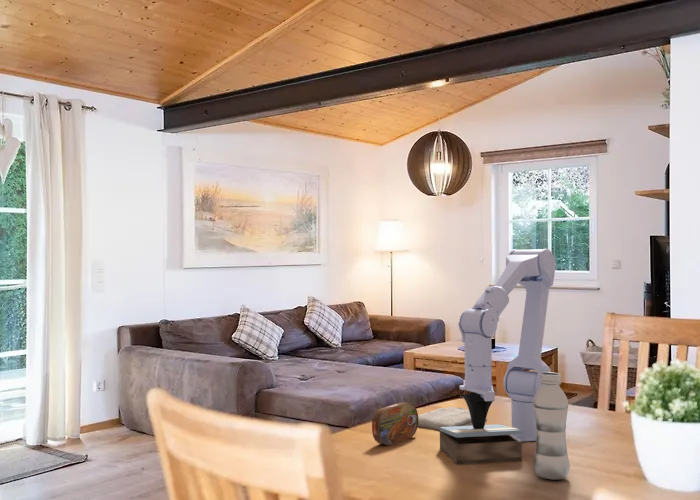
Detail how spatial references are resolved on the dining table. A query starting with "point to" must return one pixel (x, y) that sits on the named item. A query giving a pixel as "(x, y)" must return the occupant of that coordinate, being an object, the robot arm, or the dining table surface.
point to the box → (481, 449)
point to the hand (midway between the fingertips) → (478, 428)
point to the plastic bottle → (551, 428)
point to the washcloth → (445, 418)
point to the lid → (480, 431)
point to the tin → (395, 423)
